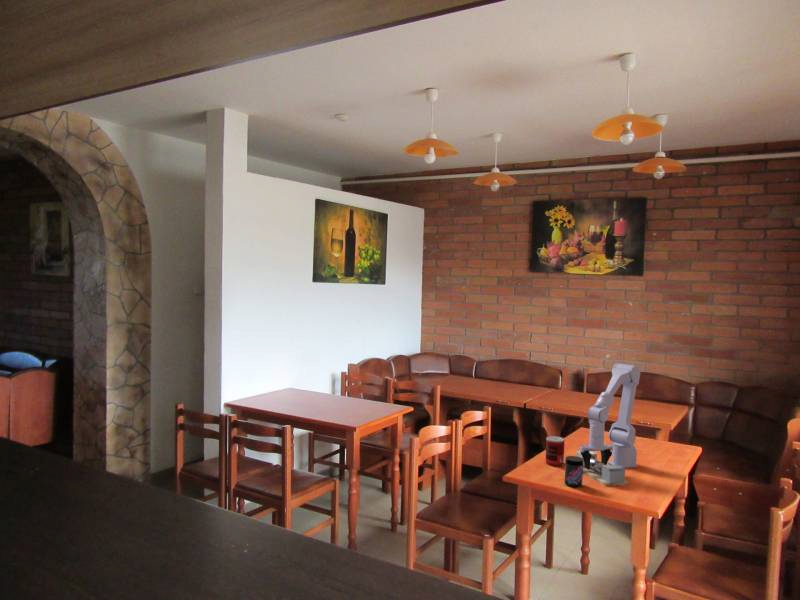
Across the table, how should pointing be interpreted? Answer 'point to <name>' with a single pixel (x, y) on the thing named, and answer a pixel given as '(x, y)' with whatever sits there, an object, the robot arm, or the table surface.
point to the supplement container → (573, 471)
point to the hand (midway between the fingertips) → (595, 468)
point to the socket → (613, 473)
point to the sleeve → (590, 453)
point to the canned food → (554, 451)
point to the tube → (596, 465)
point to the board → (600, 477)
